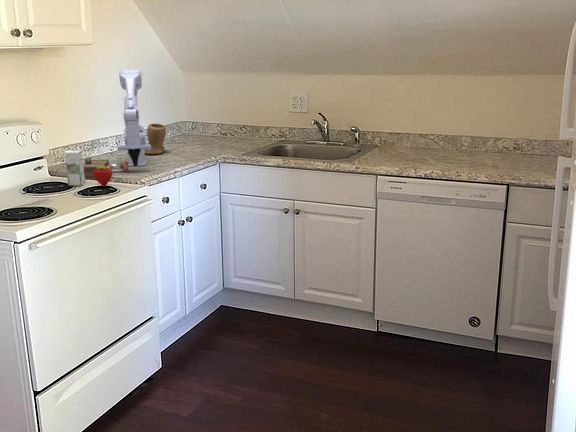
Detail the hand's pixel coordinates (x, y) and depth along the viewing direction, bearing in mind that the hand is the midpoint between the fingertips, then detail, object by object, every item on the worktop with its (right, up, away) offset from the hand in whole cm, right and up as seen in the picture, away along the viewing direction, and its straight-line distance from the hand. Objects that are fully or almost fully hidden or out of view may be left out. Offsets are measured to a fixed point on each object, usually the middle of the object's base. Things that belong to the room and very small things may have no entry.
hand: (135, 165), depth 289 cm
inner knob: (-9, -2, 0) cm, 9 cm away
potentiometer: (-20, 0, -6) cm, 20 cm away
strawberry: (-7, -11, -25) cm, 28 cm away
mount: (-17, -4, -4) cm, 18 cm away
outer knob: (-15, -5, -7) cm, 17 cm away
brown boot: (+1, +10, +41) cm, 42 cm away
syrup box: (-20, -10, -21) cm, 30 cm away
